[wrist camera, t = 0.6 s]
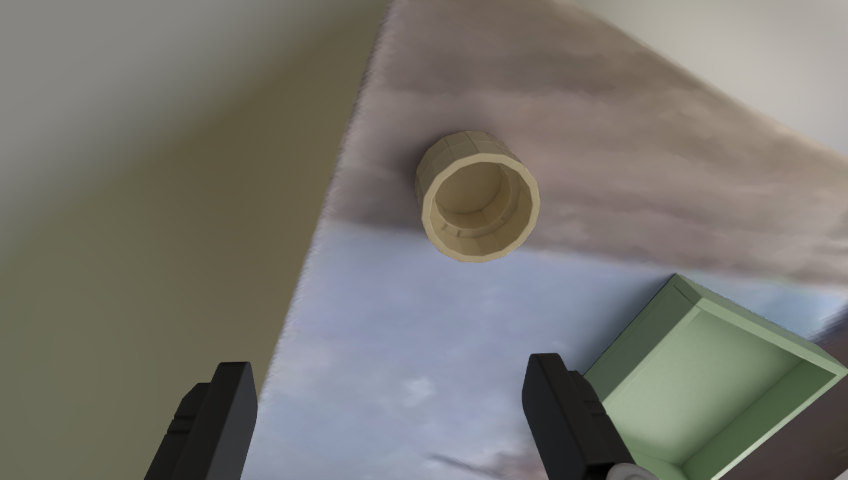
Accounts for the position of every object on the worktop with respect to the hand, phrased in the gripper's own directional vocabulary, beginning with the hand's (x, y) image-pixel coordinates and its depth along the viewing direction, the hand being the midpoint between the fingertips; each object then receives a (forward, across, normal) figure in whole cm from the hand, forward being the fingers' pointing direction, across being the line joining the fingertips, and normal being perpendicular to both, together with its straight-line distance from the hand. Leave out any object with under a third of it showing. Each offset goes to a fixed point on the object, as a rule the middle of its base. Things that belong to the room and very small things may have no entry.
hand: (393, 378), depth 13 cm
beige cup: (+16, -5, 0) cm, 17 cm away
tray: (+16, -26, +19) cm, 36 cm away
